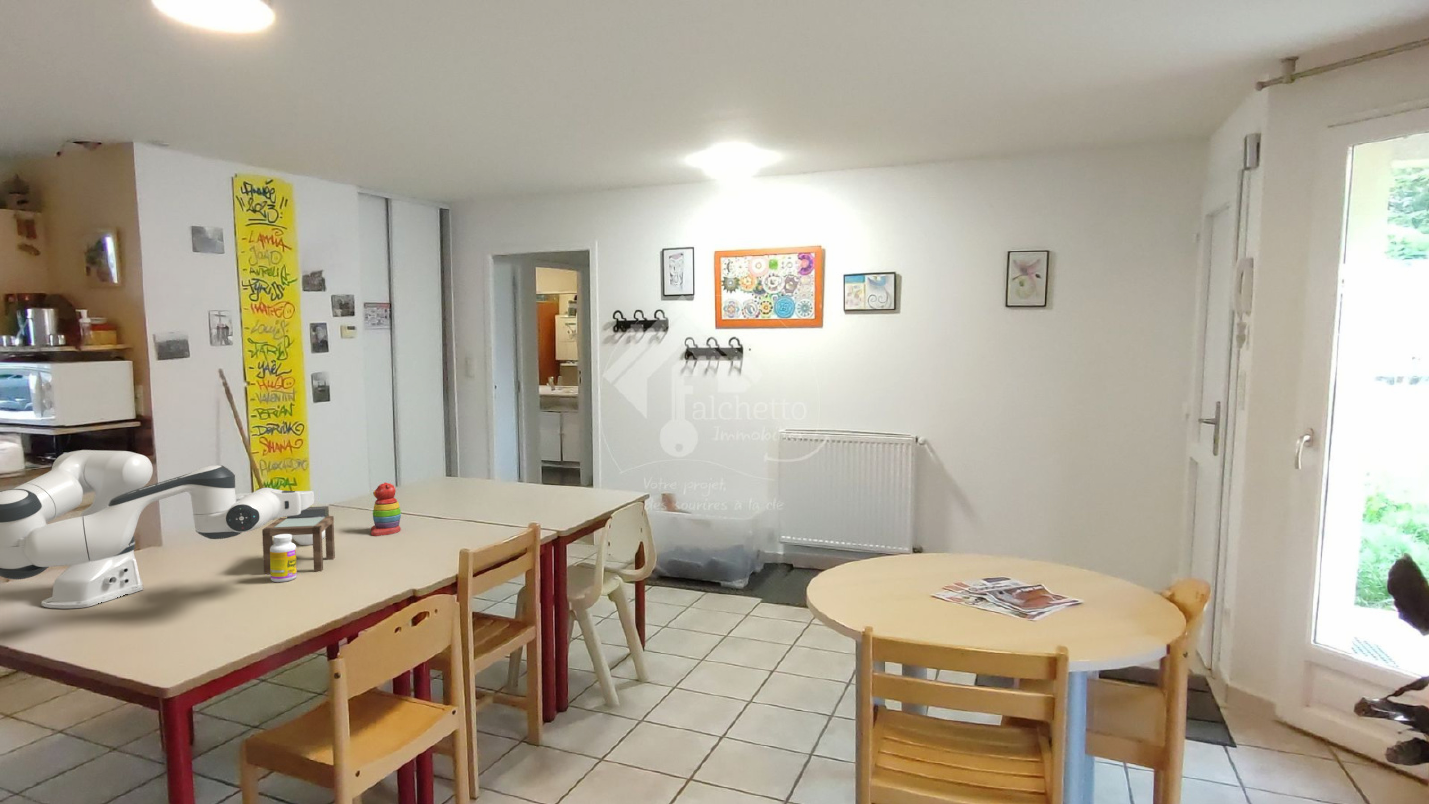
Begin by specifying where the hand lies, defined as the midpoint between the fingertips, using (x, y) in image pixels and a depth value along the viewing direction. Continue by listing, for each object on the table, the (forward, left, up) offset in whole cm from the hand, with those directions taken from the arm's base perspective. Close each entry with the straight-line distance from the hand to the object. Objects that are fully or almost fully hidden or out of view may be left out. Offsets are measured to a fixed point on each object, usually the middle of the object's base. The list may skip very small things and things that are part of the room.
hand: (282, 494), depth 220 cm
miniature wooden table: (+12, +4, -25) cm, 28 cm away
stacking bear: (+54, 0, -25) cm, 60 cm away
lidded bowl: (+37, +18, -25) cm, 48 cm away
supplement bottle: (-1, 0, -25) cm, 25 cm away
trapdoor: (+15, +5, -15) cm, 22 cm away
